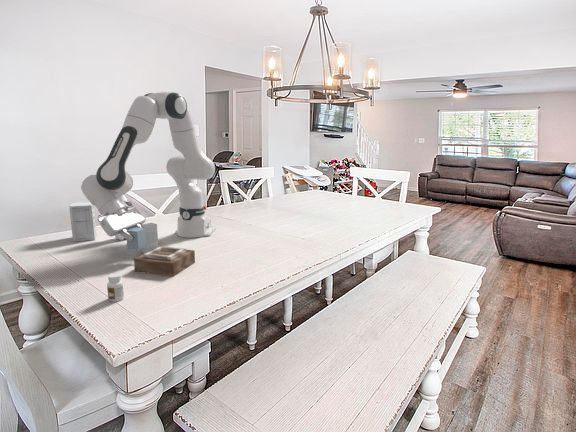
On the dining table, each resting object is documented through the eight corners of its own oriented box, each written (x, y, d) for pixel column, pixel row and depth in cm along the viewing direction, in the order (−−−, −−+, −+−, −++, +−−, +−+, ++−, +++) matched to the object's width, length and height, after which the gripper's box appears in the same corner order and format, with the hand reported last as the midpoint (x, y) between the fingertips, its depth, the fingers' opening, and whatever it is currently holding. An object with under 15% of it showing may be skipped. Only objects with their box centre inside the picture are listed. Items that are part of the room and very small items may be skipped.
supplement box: (97, 235, 187) (94, 201, 184) (95, 240, 179) (92, 205, 175) (75, 236, 184) (71, 202, 180) (72, 241, 175) (68, 205, 172)
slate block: (135, 245, 153) (134, 227, 152) (146, 246, 152) (145, 228, 151) (127, 248, 149) (125, 230, 147) (138, 250, 148) (137, 231, 146)
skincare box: (153, 248, 168) (151, 222, 166) (158, 250, 166) (157, 224, 163) (140, 251, 164) (138, 224, 161) (145, 254, 161) (144, 226, 158)
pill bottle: (105, 299, 117) (103, 275, 116) (119, 294, 121) (117, 271, 119) (112, 303, 115) (110, 279, 113) (126, 298, 118) (125, 275, 116)
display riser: (159, 258, 156) (158, 243, 155) (194, 262, 152) (194, 247, 151) (134, 271, 141) (133, 255, 139) (173, 276, 137) (173, 260, 136)
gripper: (99, 211, 139) (124, 239, 139) (134, 201, 158) (156, 225, 158) (90, 221, 141) (115, 249, 141) (126, 211, 160) (148, 235, 160)
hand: (137, 237), depth 149 cm, fingers closed on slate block, 5 cm apart
